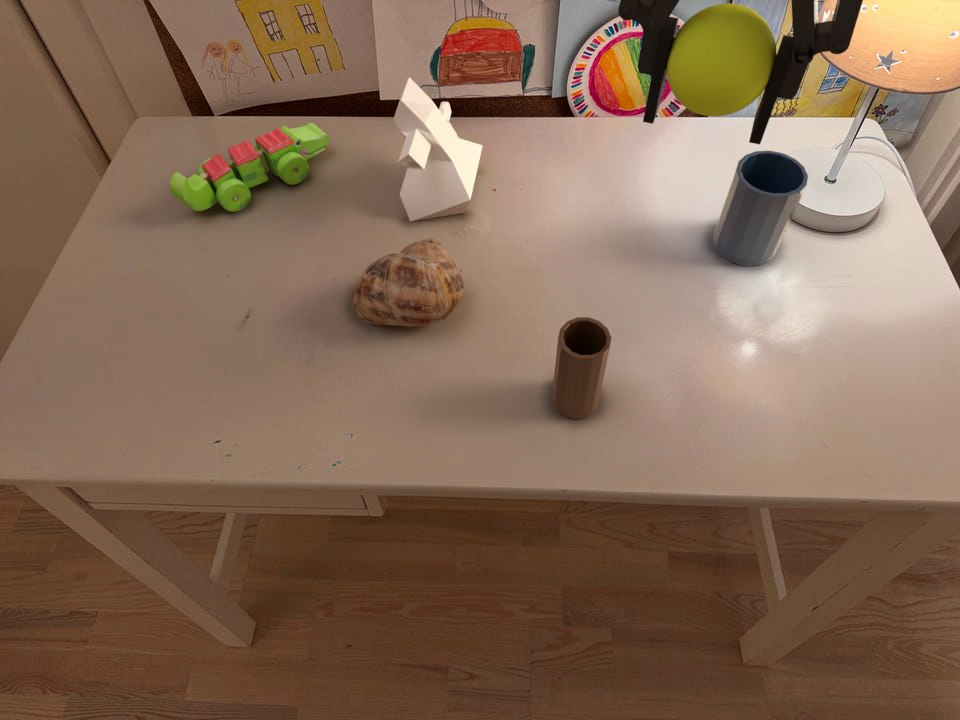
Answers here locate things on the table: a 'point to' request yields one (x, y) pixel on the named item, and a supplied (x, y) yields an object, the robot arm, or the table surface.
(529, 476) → the table surface
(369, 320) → the seashell
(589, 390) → the stand
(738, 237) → the cup
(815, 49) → the robot arm
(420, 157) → the white angular sculpture
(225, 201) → the toy crocodile
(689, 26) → the ball
